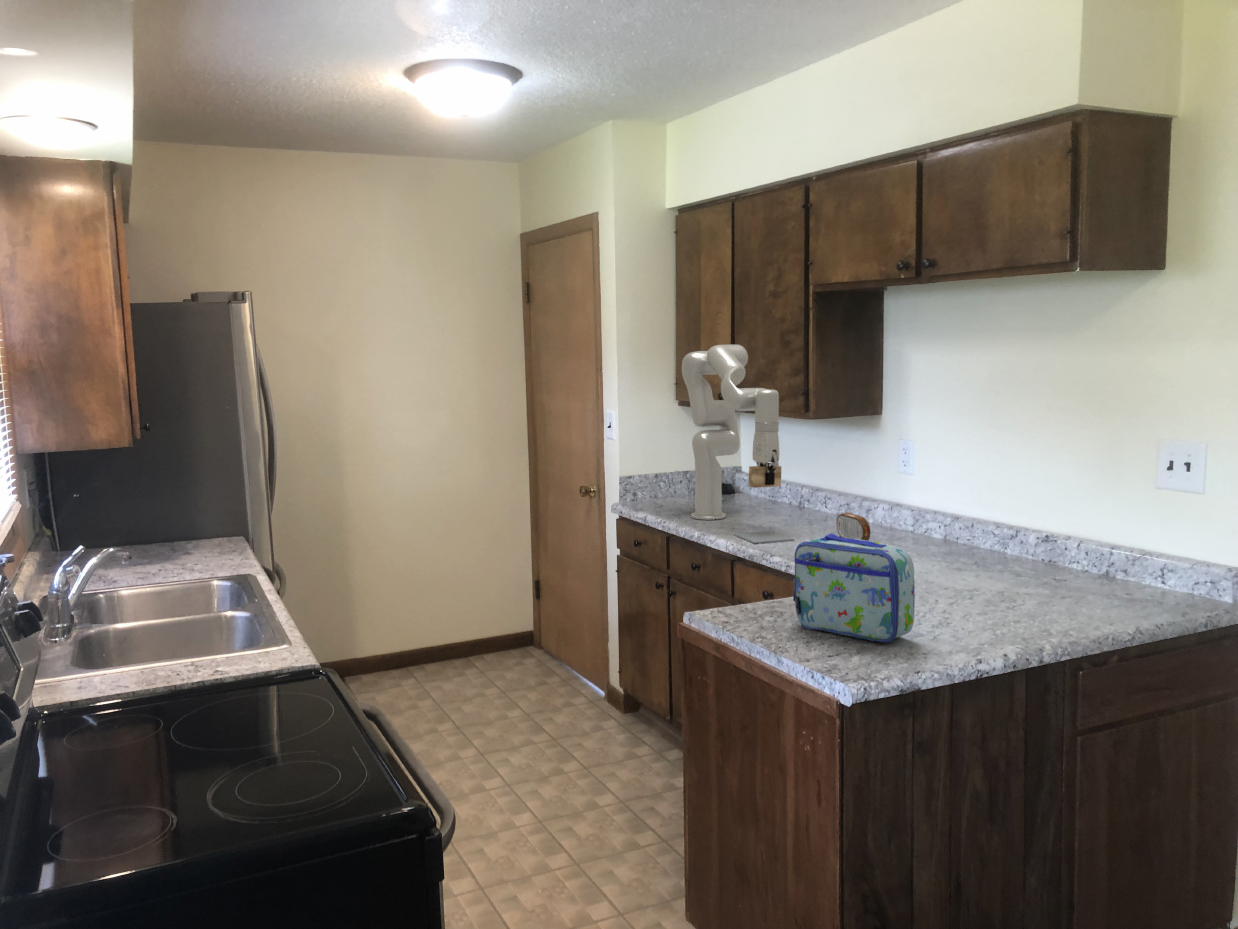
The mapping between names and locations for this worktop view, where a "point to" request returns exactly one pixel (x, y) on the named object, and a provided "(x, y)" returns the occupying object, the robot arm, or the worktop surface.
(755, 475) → the block
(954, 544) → the worktop surface
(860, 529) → the tin
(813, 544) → the lunch box
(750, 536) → the mat
